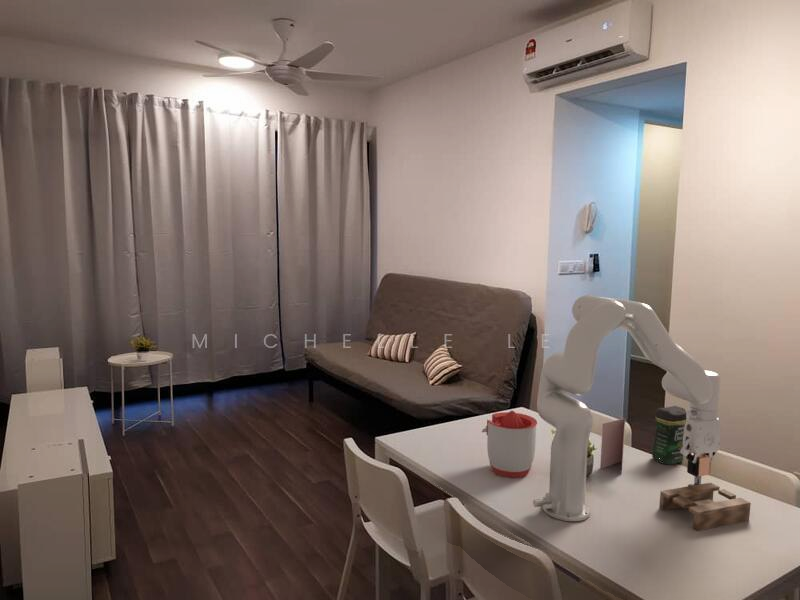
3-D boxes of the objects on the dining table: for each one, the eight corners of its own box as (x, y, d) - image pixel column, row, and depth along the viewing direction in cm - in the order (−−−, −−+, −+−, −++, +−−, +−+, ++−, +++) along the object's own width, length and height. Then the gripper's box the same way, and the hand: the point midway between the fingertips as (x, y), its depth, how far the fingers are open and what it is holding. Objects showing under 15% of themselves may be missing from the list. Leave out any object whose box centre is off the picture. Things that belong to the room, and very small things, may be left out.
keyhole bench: (696, 530, 151) (698, 512, 150) (659, 507, 163) (660, 490, 162) (749, 520, 157) (750, 502, 156) (709, 499, 169) (710, 482, 168)
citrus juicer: (488, 457, 198) (490, 400, 196) (539, 466, 191) (542, 407, 188) (474, 474, 184) (475, 413, 182) (529, 485, 177) (531, 421, 174)
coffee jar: (668, 467, 191) (672, 412, 189) (648, 458, 198) (651, 405, 196) (687, 462, 196) (691, 408, 193) (667, 454, 203) (671, 402, 200)
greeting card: (620, 460, 197) (623, 417, 195) (639, 468, 190) (642, 423, 189) (598, 467, 191) (600, 423, 189) (617, 475, 184) (620, 429, 182)
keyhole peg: (697, 497, 170) (699, 459, 168) (683, 489, 175) (686, 453, 173) (710, 494, 171) (713, 457, 170) (696, 487, 176) (699, 451, 175)
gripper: (690, 420, 164) (685, 482, 166) (735, 414, 169) (730, 474, 171) (670, 412, 171) (666, 471, 173) (714, 407, 176) (709, 465, 179)
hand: (698, 472), depth 172 cm, fingers closed on keyhole peg, 4 cm apart
